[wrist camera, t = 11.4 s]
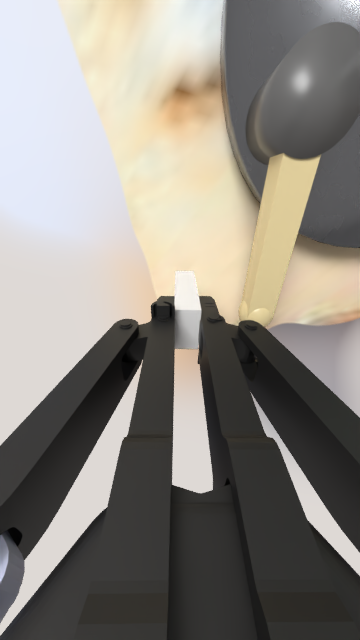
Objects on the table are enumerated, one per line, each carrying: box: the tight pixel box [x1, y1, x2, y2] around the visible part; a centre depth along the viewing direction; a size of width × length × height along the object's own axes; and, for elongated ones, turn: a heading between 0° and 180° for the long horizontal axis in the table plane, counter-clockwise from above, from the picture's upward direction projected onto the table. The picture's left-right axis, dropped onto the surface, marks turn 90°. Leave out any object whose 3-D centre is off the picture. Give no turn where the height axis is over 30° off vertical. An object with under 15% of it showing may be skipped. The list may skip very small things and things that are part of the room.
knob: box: [239, 22, 360, 327], centre depth 16 cm, size 18×5×5 cm, turn 179°
